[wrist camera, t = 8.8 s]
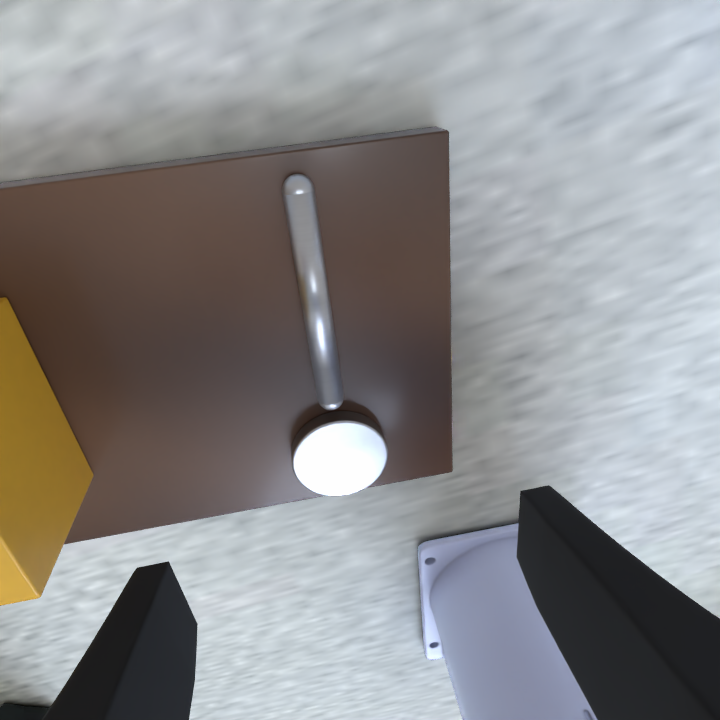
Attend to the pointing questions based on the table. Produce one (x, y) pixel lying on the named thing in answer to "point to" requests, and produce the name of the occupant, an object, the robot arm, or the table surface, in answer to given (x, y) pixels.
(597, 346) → the table surface
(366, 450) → the silver rod with disc
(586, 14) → the table surface
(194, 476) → the board
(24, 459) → the block
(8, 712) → the green animal figurine
